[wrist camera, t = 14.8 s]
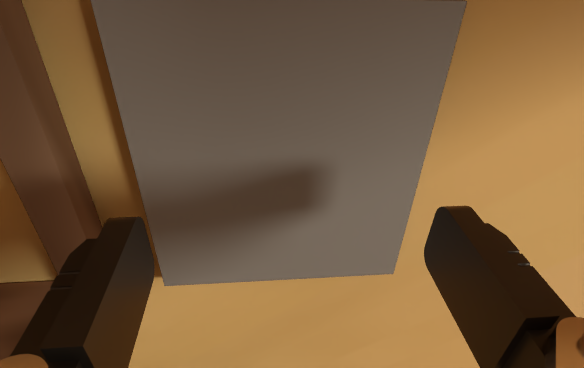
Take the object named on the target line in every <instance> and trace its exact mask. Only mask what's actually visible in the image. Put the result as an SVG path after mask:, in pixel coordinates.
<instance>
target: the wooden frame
mask: <svg viewBox="0 0 584 368" xmlns="http://www.w3.org/2000/svg"><path fill="white" fill-rule="evenodd" d="M0 159H1V161H2V163H3V165H4V167H5V169H6V171H7V173H8V175H9V177H10V179H11V181H12V183H13V185H14V187H15V189H16V191H17V193H18V195H19V197H20V199H21V201H22V203H23V205H24V207H25V209H26V211H27V213H28V215H29V217H30V219H31V221H32V223H33V225H34V227H35V229H36V231H37V233H38V235H39V237H40V239H41V241H42V243H43V245H44V247H45V249H46V251H47V253H48V255H49V257H50V259H51V261H52V263H53V265H54V267H55V269H56V271H57V274H58V275H59V271H60V269H61V268H62V266H63V264H64V263H65V261H66V259H67V257H68V256H69V254H70V253H71V252H72V251H74V250H75V249H76V248H77V247H78V246H79V245H80V244H82V243H83V242H84V241H85V240H86V239H96V238H98V236H99V234H100V232H101V230H102V226H101V223H100V220H99V218H98V215H97V212H96V209H95V206H94V204H93V201H92V198H91V195H90V192H89V190H88V187H87V184H86V181H85V178H84V175H83V173H82V170H81V167H80V164H79V161H78V159H77V156H76V153H75V150H74V147H73V145H72V142H71V139H70V136H69V133H68V131H67V128H66V125H65V122H64V119H63V117H62V114H61V111H60V108H59V105H58V103H57V100H56V97H55V94H54V91H53V89H52V86H51V83H50V80H49V77H48V75H47V72H46V69H45V66H44V63H43V61H42V58H41V55H40V52H39V49H38V47H37V44H36V41H35V38H34V35H33V33H32V30H31V27H30V24H29V21H28V19H27V16H26V13H25V10H24V7H23V4H22V2H21V0H0ZM52 283H53V281H42V282H22V283H3V284H0V360H2V359H5V358H8V357H9V356H10V355H11V353H12V352H13V350H14V348H15V347H16V345H17V343H18V342H19V340H20V338H21V336H22V335H23V333H24V331H25V330H26V328H27V326H28V324H29V323H30V321H31V319H32V317H33V316H34V314H35V312H36V311H37V309H38V307H39V305H40V304H41V302H42V300H43V299H44V297H45V295H46V293H47V292H48V291H50V289H51V288H50V287H51V285H52Z"/></svg>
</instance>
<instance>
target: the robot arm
mask: <svg viewBox="0 0 584 368" xmlns="http://www.w3.org/2000/svg"><path fill="white" fill-rule="evenodd" d="M424 258H425V263H426V266H427V269H428V271H429V272H430V274H431V276H432V278H433V280H434V282H435V284H436V286H437V287H438V289H439V291H440V293H441V295H442V297H443V299H444V301H445V303H446V304H447V306H448V308H449V310H450V312H451V314H452V316H453V318H454V319H455V321H456V323H457V325H458V327H459V329H460V331H461V333H462V335H463V336H464V338H465V340H466V342H467V344H468V346H469V348H470V350H471V351H472V353H473V355H474V357H475V359H476V361H477V363H478V365H479V366H480V368H584V318H581V317H576V316H575V315H574V314H573V313H572V312H571V310H570V309H569V308H568V307H567V306H566V305H565V303H564V302H563V301H562V300H561V299H560V298H559V296H558V295H557V294H556V293H555V292H554V291H553V289H552V288H551V287H550V286H549V285H548V284H547V282H546V281H545V280H544V279H543V278H542V277H541V275H540V274H539V273H538V272H537V271H536V270H535V268H534V267H533V266H530V263H529V261H528V260H527V259H526V258H525V257H524V256H523V254H520V253H519V250H518V249H517V247H516V246H515V245H514V244H513V243H512V242H511V240H510V239H509V238H508V237H507V236H506V235H505V234H503V233H502V232H500V231H499V230H497V229H496V228H495V227H493V226H492V225H490V224H489V223H484V222H483V221H482V220H481V219H480V217H479V216H478V215H477V214H476V212H475V211H474V210H473V209H472V208H471V207H469V206H447V207H440V208H438V209H437V211H436V213H435V216H434V219H433V223H432V226H431V229H430V232H429V235H428V238H427V241H426V244H425V249H424ZM153 279H154V258H153V254H152V250H151V247H150V243H149V239H148V236H147V232H146V228H145V224H144V221H143V219H142V218H141V217H121V218H109V219H108V220H107V221H106V222H105V224H104V226H103V228H102V230H101V232H100V234H99V236H98V238H96V239H86V240H85V241H84V242H83V243H82V244H80V245H79V246H78V247H77V248H76V249H75V250H74V251H72V252H71V253H70V254H69V256H68V257H67V259H66V261H65V263H64V264H63V266H62V268H61V269H60V271H59V275H58V276H56V278H55V280H54V281H53V283H52V285H51V287H50V288H51V289H50V291H48V292H47V293H46V295H45V297H44V299H43V300H42V302H41V304H40V305H39V307H38V309H37V311H36V312H35V314H34V316H33V317H32V319H31V321H30V323H29V324H28V326H27V328H26V330H25V331H24V333H23V335H22V336H21V338H20V340H19V342H18V343H17V345H16V347H15V348H14V350H13V352H12V353H11V355H10V356H9V357H8V358H5V359H2V360H0V368H128V366H129V362H130V359H131V355H132V352H133V349H134V345H135V342H136V338H137V335H138V331H139V328H140V325H141V321H142V318H143V314H144V311H145V307H146V304H147V300H148V297H149V294H150V290H151V287H152V283H153Z"/></svg>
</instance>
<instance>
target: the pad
mask: <svg viewBox="0 0 584 368" xmlns="http://www.w3.org/2000/svg"><path fill="white" fill-rule="evenodd" d="M91 4H92V7H93V11H94V15H95V19H96V23H97V27H98V31H99V34H100V38H101V42H102V46H103V50H104V54H105V58H106V62H107V65H108V69H109V73H110V77H111V81H112V85H113V89H114V92H115V96H116V100H117V104H118V108H119V112H120V116H121V119H122V123H123V127H124V131H125V135H126V139H127V143H128V147H129V150H130V154H131V158H132V162H133V166H134V170H135V174H136V177H137V181H138V185H139V189H140V193H141V197H142V201H143V204H144V208H145V212H146V216H147V220H148V224H149V228H150V232H151V235H152V239H153V243H154V247H155V251H156V255H157V259H158V262H159V266H160V270H161V274H162V278H163V282H164V286H175V285H194V284H212V283H231V282H250V281H269V280H287V279H306V278H325V277H344V276H362V275H381V274H393V273H394V270H395V266H396V262H397V258H398V255H399V251H400V247H401V244H402V240H403V236H404V233H405V229H406V225H407V222H408V218H409V214H410V210H411V207H412V203H413V199H414V196H415V192H416V188H417V185H418V181H419V177H420V173H421V170H422V166H423V162H424V159H425V155H426V151H427V148H428V144H429V140H430V137H431V133H432V129H433V125H434V122H435V118H436V114H437V111H438V107H439V103H440V100H441V96H442V92H443V89H444V85H445V81H446V77H447V74H448V70H449V66H450V63H451V59H452V55H453V52H454V48H455V44H456V41H457V37H458V33H459V29H460V26H461V22H462V18H463V15H464V11H465V7H466V4H467V1H465V0H91Z"/></svg>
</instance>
